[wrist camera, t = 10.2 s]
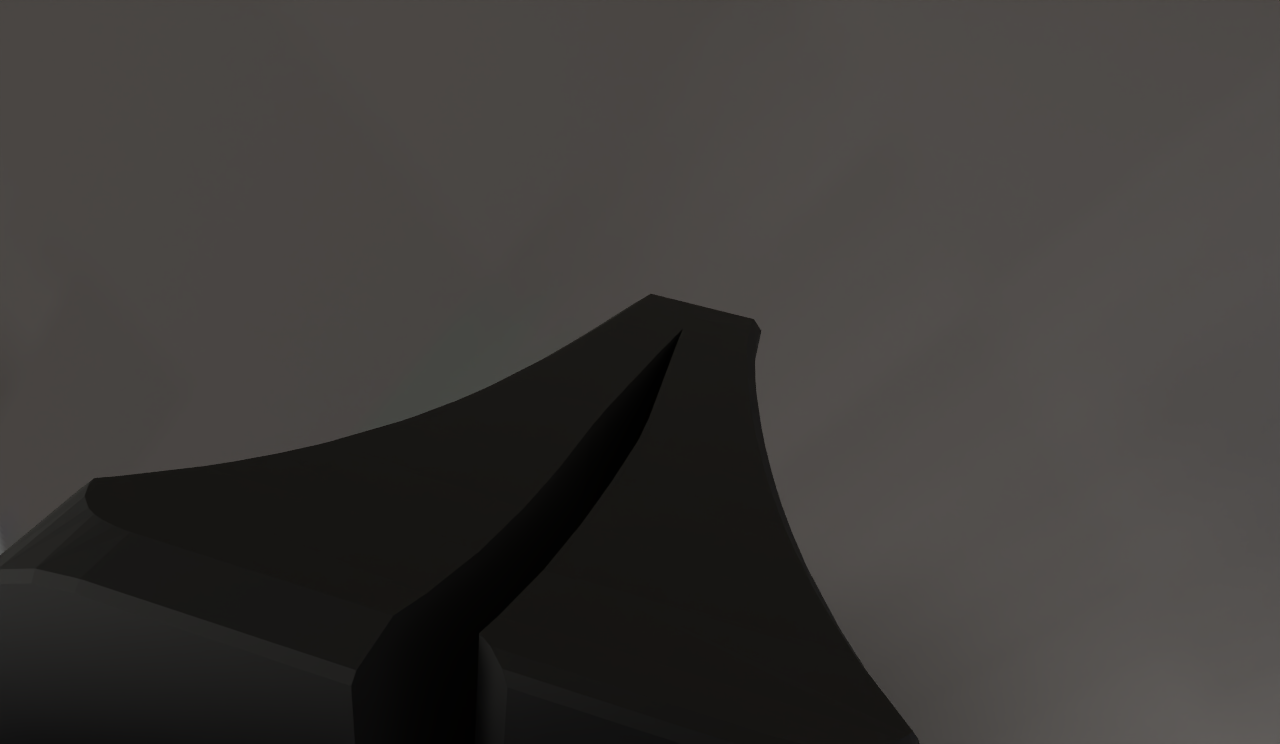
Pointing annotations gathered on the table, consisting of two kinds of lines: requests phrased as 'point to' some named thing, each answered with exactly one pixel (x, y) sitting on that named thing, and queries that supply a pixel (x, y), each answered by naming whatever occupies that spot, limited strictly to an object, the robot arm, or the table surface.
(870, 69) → the table surface
